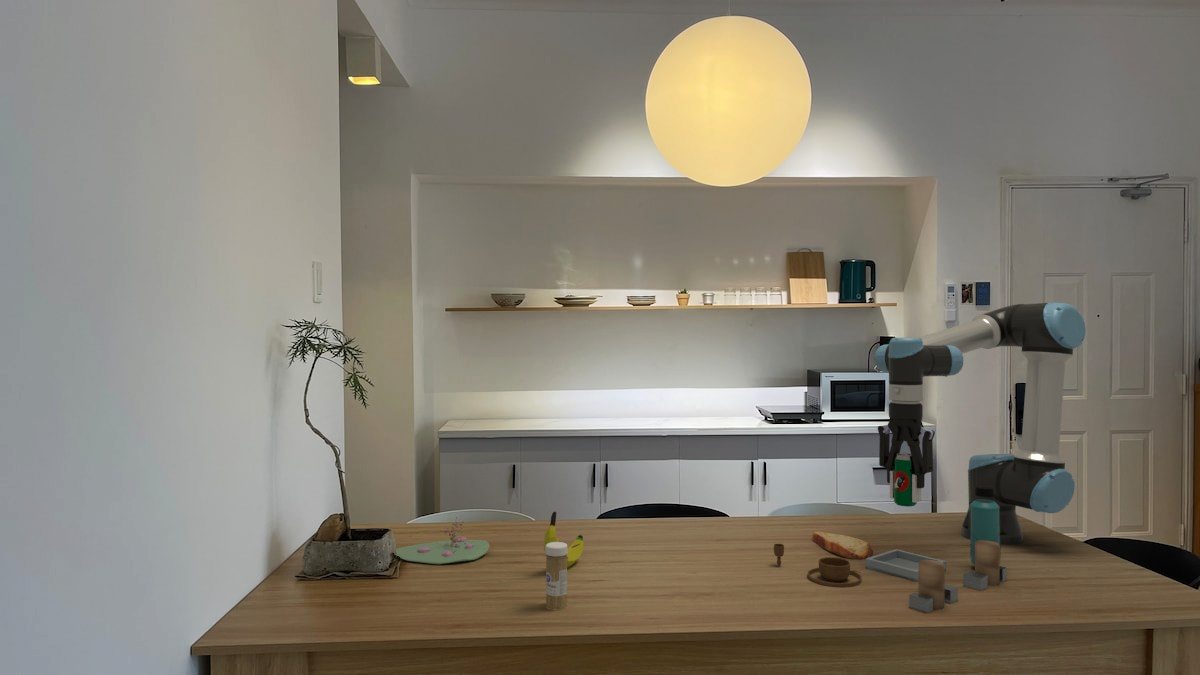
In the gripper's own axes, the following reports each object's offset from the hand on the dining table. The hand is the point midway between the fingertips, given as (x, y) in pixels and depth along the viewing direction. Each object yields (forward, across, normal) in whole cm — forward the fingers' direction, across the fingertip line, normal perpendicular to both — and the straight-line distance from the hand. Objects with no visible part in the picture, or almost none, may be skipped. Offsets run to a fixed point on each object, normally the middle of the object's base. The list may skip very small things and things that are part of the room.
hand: (905, 499), depth 184 cm
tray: (+17, 0, 0) cm, 17 cm away
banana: (+17, -52, -63) cm, 83 cm away
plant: (+18, -84, -80) cm, 117 cm away
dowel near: (+17, +16, -18) cm, 30 cm away
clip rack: (+17, +16, -6) cm, 24 cm away
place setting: (+18, -10, -18) cm, 27 cm away
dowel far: (+17, +16, +6) cm, 24 cm away
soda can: (+1, 0, 0) cm, 1 cm away
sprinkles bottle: (+17, -30, -80) cm, 87 cm away
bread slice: (+18, -21, +4) cm, 28 cm away
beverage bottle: (+17, +12, +15) cm, 26 cm away
